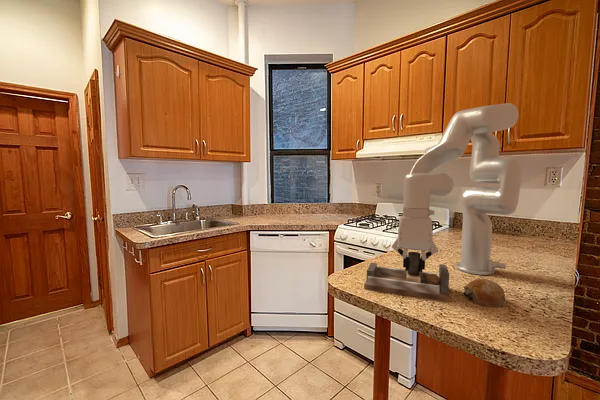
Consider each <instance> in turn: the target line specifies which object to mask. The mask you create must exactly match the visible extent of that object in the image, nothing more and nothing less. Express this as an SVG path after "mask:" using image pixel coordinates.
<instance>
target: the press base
mask: <svg viewBox="0 0 600 400" xmlns="http://www.w3.org/2000/svg"><path fill="white" fill-rule="evenodd" d="M406 276H407V271H405V268H404V269H403V268H395V267H388V266H379V265H378V262H370V263H369V265H368V267H367V269H366V279H365V282H364V285H363V289H365V290H370V291H372V290H373V291H378V292H384V293H385V292H386V293H391V294H398V295H403V296H404V295H405V296H411V297H418V298H423V299H424V298H425V299H432V300H437V301H444V302H449V301H450V298H449V297H450V296H449V290H450V289H449V288H450V273H449V270H448V266H447V265H446V264H438V273H436V272H429V271H422V277H423V283H417V282H409V281H406Z"/></svg>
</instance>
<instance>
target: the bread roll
mask: <svg viewBox="0 0 600 400" xmlns="http://www.w3.org/2000/svg"><path fill="white" fill-rule="evenodd" d="M463 288H464V289H463V290H464V291H463V292H462V295H463V296H464V297H465V298H466V299H467V300H468V301H470V302H472V303H473V304H477V305H480V306H482V307H490V308H501V307H505V306H506V305H507V304H506V302H505V301H506V295H505V291H504V288H503V287H502V286H501V285H500V284H499V283H497V282H496V281H494V280H492V279H487V278H478V279H474V280H471V281H469V282H468V283H467V284H466V285H464V286H463Z"/></svg>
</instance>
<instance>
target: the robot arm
mask: <svg viewBox="0 0 600 400" xmlns="http://www.w3.org/2000/svg"><path fill="white" fill-rule="evenodd" d="M518 110H519V109H518V107H517V106H516V105H515V104H513V103H511V102H506V103H499V104H492V105H491V104H490V105H483V106H479V107H474V108H473V107H472V108H467V109H463V110H460V111H457V112H455V113H454V115H453V116H452V117H451V119H450V121H449V122H448V123H447V126H446V127H445V130H444V132H443V133H442V136H441V138H440V139H439V141H438V143H437V144H436V145H435V146H433V147H432V148H431V149H429V150H428V151H427V152H426V153H425V154H422V156H421V157H419V158H418V159H417V161H416V162H415V163H414V164H413V167H412V168H411V170H410V172H409V173H408V174H405V176H404V179H403V180H404V181H403V205H402V208H403V210H402V215H401V216H400V217H399V222H398V228H397V238H396V240H395V241H394V242H393V243H392V245H391V248H392V249H393V250H394V251H396V252H397V253H398V254H399V255H400V256H401V257H402V258H403V259H402V261H403V262H402V267H403V268H404V269H405V271H408V252H409V251H408V250H414V251H420V273H422V272H423V271H424V270H426V261H427V259H428V258H430V257H431V256H433V255H435V254H437V253H439V249H438V247H437V245H436V244H435V242H434V239H433V238H434V234H433V231H434V230H433V222H432V220H433V219H432V217H430V216H432V215H433V216H435V210H432V209H430V202H431V201H430V198H431V197H436V198H437V197H439V198H442V197H446V196H448V195H449V194H450V193H451V192H452V191H453V189H454V185H455V183H454V180H453V178H452V177H451V176H450V175H449V174H446V173H443V172H433V171H434V170H436V169H437V168H438V167H440V166H443V165H445V164H449V163H452V162H453V161H456V160H457V159H459V158H460V157H462V156H463V155H465V152H466V149H467V148H468V146H469V144H470V141H471V145H472V148H471V157H470V165H469V179H470V180H471V181H472V182H473V183H476V184H477V183H478V184H494V185H497V184H498V185H499V187H498V186H495V187H493V186H492V187H490V186H470V187H466V188H465V189H464V190H463V191H462V192H461V194H460V205H461V211H462V229H461V230H462V231H461V250H460V251H461V252H460V261H458V262H456V263H455V267H456V269H457V270H459V271H462V272H464V273H468V274H472V275H477V276H478V275H480V276H488V275H493V274H495V272H496V271H495V270H496V269H503V270H505V269H506V267H507V266H506V263H504V262H500V261H493V260H492V259H491V256H492V255H491V253H492V241H493V240H492V239H493V236H492V235H493V223H492V220H491V218H490V217H489V215H488V214H492V215H498V216H499V215H500V216H509V215H512V214H514V213H515V212H516V210H517V208H518V203H519V198H520V193H521V192H520V191H521V185H522V177H523V166H522V163H521V161H520V160H519V159H518V158H517V157H514V156H500V147H501V144H500V140H499V139H498V138H497V137H496V136H495V135H494V134H493V133H495V132H501V131H505V130H509V129H511V128H513V127H514V126H516V123H517V122H518V120H519V111H518Z"/></svg>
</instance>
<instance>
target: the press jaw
mask: <svg viewBox="0 0 600 400" xmlns="http://www.w3.org/2000/svg"><path fill="white" fill-rule="evenodd" d="M407 255H408V271H407V276H406V281H409V282H417V283H423V277H422V273H420V258H421V252H418V251H408V252H407Z"/></svg>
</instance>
